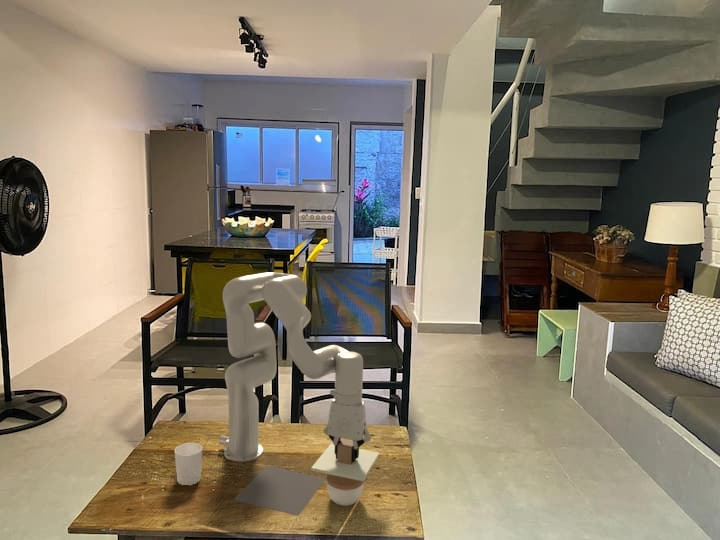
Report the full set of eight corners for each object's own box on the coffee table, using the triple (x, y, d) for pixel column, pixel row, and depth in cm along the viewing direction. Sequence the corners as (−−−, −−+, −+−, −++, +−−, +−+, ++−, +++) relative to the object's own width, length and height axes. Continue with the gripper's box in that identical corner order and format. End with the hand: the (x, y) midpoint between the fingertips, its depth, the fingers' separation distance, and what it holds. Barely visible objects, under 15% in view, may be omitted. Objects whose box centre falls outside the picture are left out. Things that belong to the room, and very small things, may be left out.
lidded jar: (359, 514, 155) (360, 483, 154) (321, 508, 158) (322, 477, 156) (366, 493, 166) (367, 463, 164) (331, 488, 168) (332, 458, 166)
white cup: (208, 477, 171) (207, 446, 170) (190, 489, 164) (189, 458, 162) (188, 470, 175) (187, 440, 173) (169, 482, 167) (168, 451, 166)
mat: (233, 501, 159) (233, 499, 159) (266, 467, 178) (266, 465, 178) (298, 517, 153) (298, 515, 153) (325, 480, 172) (325, 478, 172)
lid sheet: (311, 470, 155) (311, 450, 154) (331, 445, 169) (331, 427, 168) (363, 481, 150) (364, 461, 149) (379, 455, 164) (380, 436, 163)
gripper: (315, 397, 155) (313, 459, 158) (373, 406, 150) (370, 470, 153) (325, 387, 162) (323, 447, 165) (381, 396, 157) (378, 457, 160)
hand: (346, 457), depth 159 cm, fingers closed on lid sheet, 4 cm apart
